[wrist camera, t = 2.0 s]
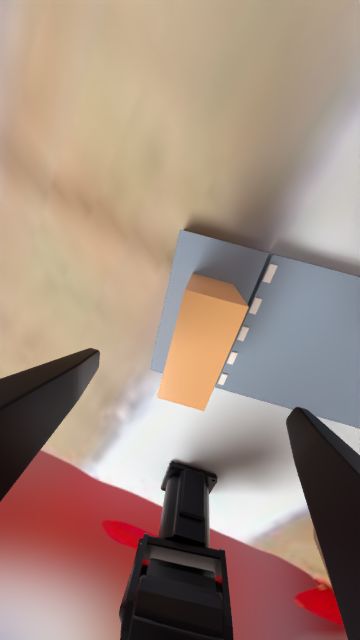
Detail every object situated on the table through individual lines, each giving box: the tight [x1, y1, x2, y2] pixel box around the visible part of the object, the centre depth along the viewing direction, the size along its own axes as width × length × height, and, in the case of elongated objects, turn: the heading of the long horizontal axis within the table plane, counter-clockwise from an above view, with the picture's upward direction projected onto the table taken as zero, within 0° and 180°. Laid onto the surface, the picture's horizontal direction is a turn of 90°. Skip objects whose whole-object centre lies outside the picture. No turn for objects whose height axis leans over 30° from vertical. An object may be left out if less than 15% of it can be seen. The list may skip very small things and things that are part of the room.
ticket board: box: [215, 254, 360, 428], centre depth 14 cm, size 12×14×1 cm
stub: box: [150, 230, 269, 411], centre depth 12 cm, size 12×6×6 cm, turn 166°
